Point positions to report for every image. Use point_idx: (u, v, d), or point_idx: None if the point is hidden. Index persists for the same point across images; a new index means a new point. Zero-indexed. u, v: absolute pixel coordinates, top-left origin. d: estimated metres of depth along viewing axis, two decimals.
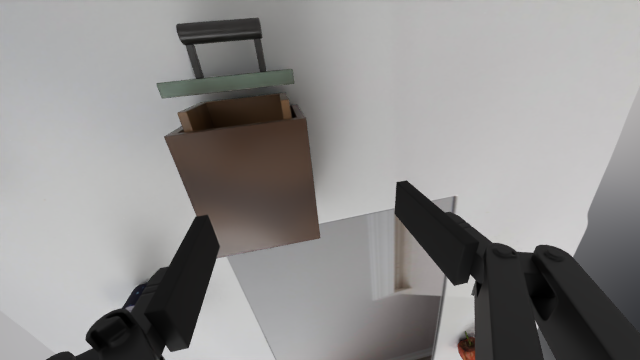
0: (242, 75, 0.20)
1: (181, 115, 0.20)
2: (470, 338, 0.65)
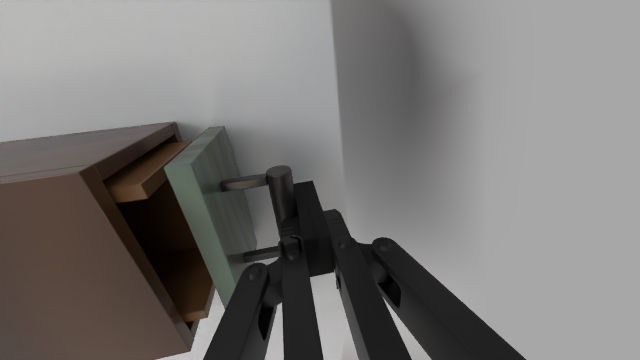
0: (230, 273, 0.13)
1: (137, 189, 0.11)
2: None
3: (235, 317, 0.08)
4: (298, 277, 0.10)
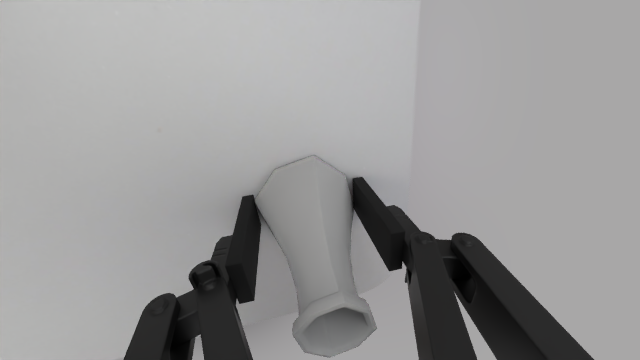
0: None
1: None
2: None
3: None
4: (218, 306, 0.09)
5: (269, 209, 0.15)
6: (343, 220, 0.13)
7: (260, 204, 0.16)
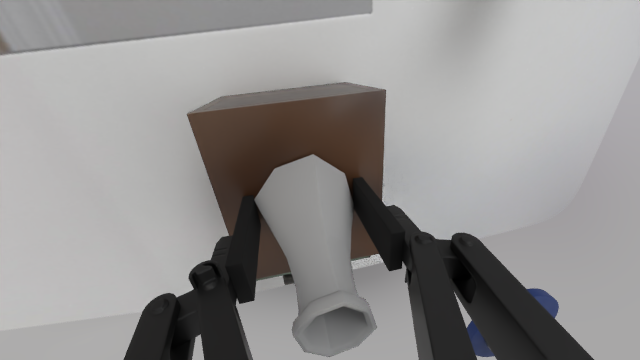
0: None
1: None
2: None
3: None
4: (218, 306, 0.09)
5: (268, 209, 0.15)
6: (343, 219, 0.13)
7: (260, 203, 0.16)
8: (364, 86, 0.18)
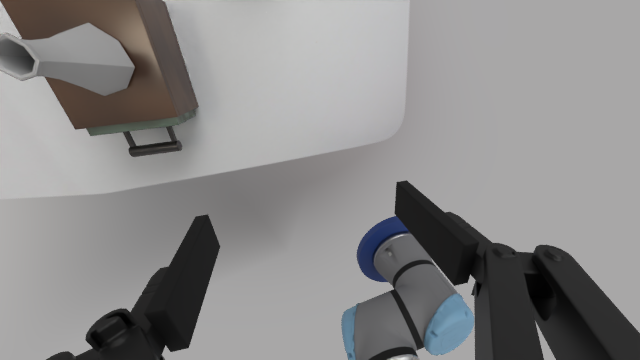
0: (124, 131, 0.31)
1: None
2: None
3: None
4: None
5: None
6: (80, 45, 0.22)
7: None
8: None
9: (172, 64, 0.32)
